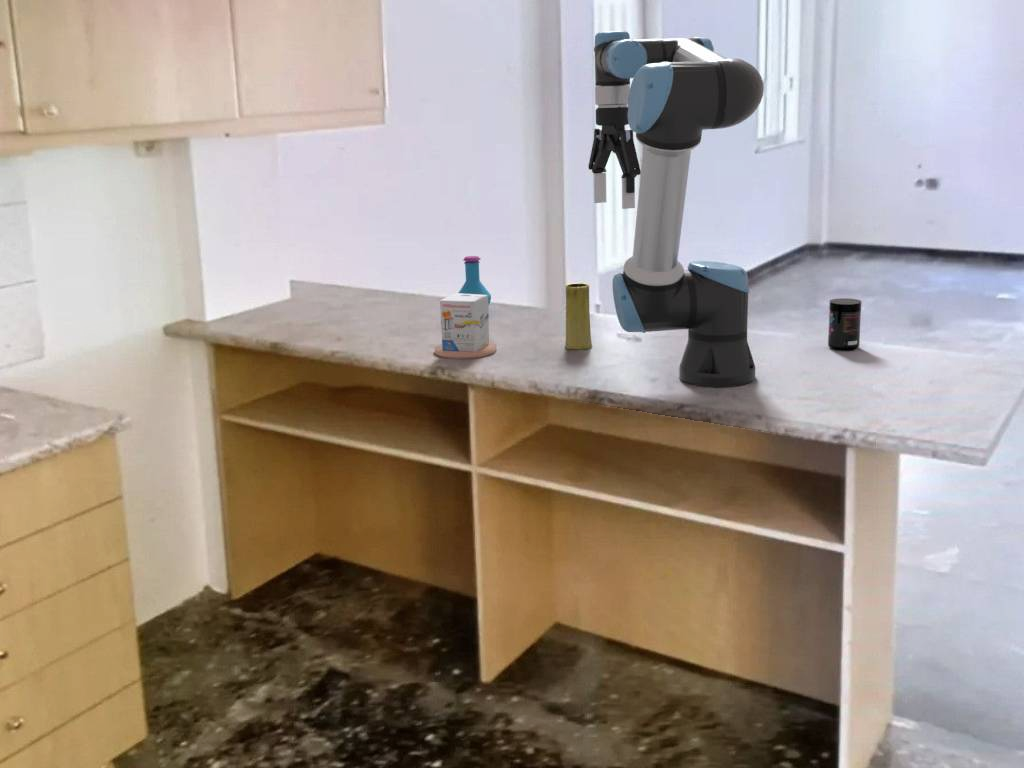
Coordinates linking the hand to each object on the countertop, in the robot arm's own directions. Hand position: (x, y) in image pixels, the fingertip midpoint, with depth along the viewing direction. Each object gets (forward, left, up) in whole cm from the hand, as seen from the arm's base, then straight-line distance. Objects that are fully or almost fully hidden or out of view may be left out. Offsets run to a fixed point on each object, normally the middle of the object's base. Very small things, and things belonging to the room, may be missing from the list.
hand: (614, 205), depth 255 cm
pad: (+12, +32, -32) cm, 47 cm away
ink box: (+12, +32, -31) cm, 46 cm away
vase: (+3, +8, -32) cm, 33 cm away
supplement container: (-27, -42, -32) cm, 59 cm away
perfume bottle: (+50, +16, -32) cm, 61 cm away
